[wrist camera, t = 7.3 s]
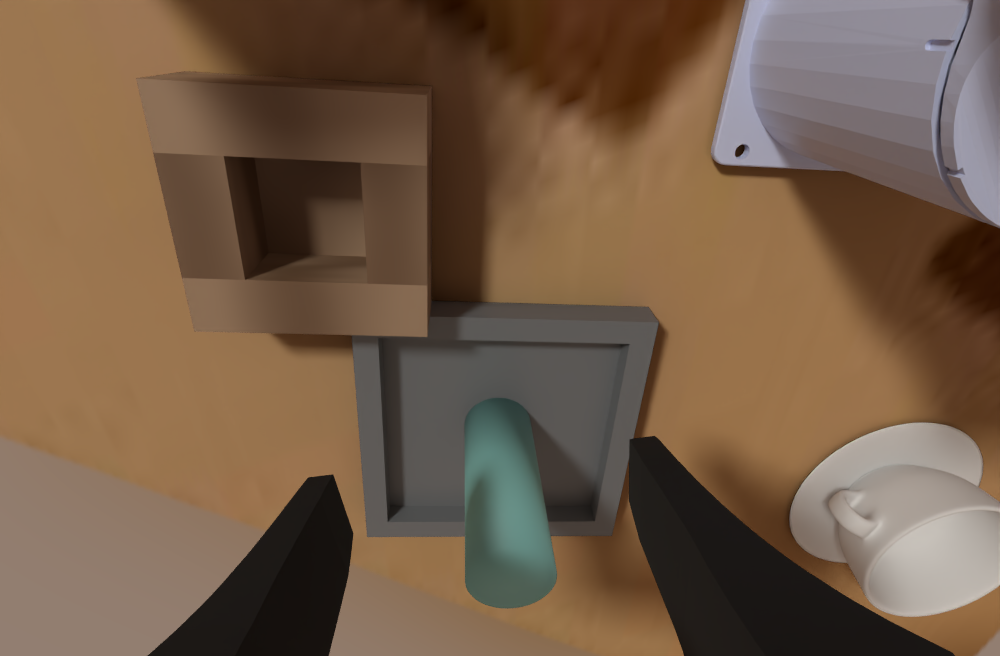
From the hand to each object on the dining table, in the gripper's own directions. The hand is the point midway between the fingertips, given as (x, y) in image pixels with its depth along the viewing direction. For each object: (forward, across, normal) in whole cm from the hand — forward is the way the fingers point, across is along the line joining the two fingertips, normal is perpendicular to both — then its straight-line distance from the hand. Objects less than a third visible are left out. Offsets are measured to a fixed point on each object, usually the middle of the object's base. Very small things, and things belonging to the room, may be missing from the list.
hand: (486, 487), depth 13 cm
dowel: (+10, 0, +6) cm, 12 cm away
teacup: (+11, -20, +14) cm, 27 cm away
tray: (+10, 0, +6) cm, 12 cm away
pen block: (+10, +5, -5) cm, 12 cm away
